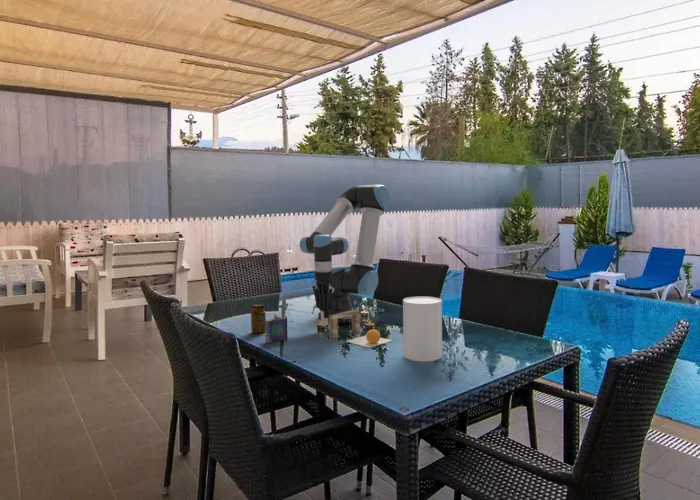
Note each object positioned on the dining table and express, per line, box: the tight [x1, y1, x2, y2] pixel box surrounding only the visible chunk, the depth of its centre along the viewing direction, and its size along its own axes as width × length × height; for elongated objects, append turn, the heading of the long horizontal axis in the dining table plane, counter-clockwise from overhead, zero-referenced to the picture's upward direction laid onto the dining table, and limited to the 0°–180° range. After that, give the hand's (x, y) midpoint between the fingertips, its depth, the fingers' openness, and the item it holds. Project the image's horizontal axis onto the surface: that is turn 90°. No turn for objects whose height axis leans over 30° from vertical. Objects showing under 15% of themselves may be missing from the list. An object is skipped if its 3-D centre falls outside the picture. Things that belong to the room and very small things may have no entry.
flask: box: [265, 313, 288, 344], centre depth 207 cm, size 9×3×11 cm, turn 121°
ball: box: [365, 328, 381, 344], centre depth 201 cm, size 6×6×6 cm
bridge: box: [328, 309, 361, 340], centre depth 215 cm, size 3×14×9 cm, turn 133°
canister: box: [402, 295, 443, 362], centre depth 184 cm, size 14×14×20 cm
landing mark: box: [345, 335, 393, 349], centre depth 205 cm, size 13×13×1 cm
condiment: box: [248, 303, 267, 337], centre depth 220 cm, size 7×8×12 cm
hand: (324, 325), depth 224 cm, fingers closed
